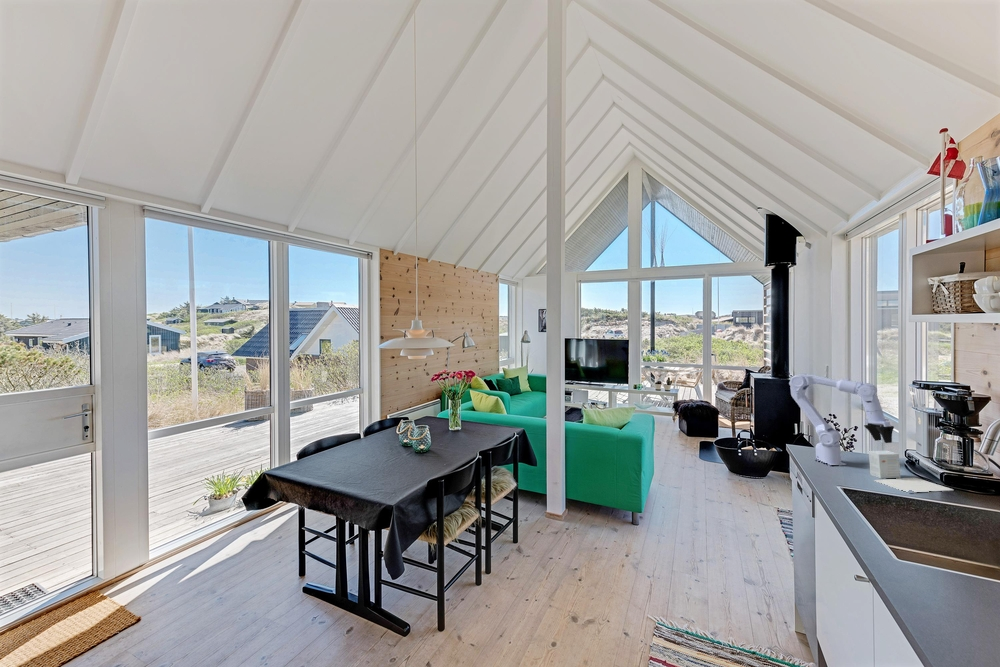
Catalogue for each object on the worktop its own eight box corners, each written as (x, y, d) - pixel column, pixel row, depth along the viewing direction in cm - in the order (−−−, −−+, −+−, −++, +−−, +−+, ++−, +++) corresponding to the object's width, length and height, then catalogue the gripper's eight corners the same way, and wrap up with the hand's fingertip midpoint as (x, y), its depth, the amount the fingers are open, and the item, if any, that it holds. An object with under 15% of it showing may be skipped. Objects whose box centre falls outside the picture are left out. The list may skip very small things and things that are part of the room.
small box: (889, 474, 176) (888, 450, 176) (901, 478, 170) (899, 453, 170) (869, 474, 177) (868, 450, 177) (880, 479, 171) (878, 454, 171)
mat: (874, 481, 169) (874, 480, 169) (914, 478, 170) (914, 477, 170) (909, 493, 155) (909, 492, 155) (953, 490, 156) (953, 489, 156)
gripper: (894, 410, 172) (905, 442, 170) (874, 408, 186) (883, 438, 184) (875, 412, 174) (885, 444, 172) (856, 410, 188) (865, 440, 186)
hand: (883, 441), depth 178 cm, fingers open, 7 cm apart
